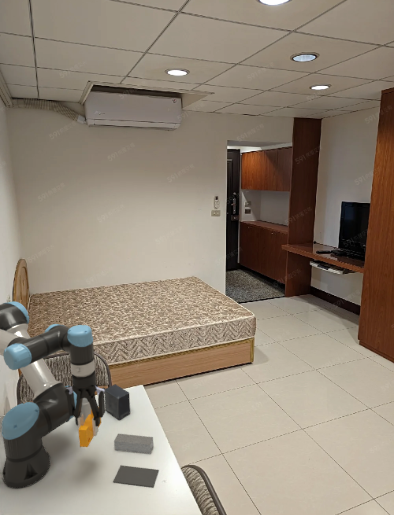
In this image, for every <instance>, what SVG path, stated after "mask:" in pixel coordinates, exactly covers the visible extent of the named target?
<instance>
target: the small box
mask: <svg viewBox="0 0 394 515" xmlns="http://www.w3.org/2000/svg"><path fill="white" fill-rule="evenodd" d="M105 389H106V390H105V393H104V401H105V412H107V414H109V415H111V416H112V417H114V418H115V419H117V421H121V420H122V419H124V418H126V417H127V416H129V415H130V414H131V405H130V404H131V402H130V400H131V399H130V392H129V391H128V390H126V389H124V388H122V387H121V386H119V385H117V384H113V385H111V386H108V387H107V388H106V387H105Z"/></svg>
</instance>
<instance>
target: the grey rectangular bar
mask: <svg viewBox="0 0 394 515" xmlns="http://www.w3.org/2000/svg"><path fill="white" fill-rule="evenodd" d="M113 446H114V447H113V448H114V451H121V452H128V453H129V452H130V453H136V454H137V453H139V454H148V455H151V454H152V451H153V448H154V437H153V436H145V435H144V436H143V435H135V434H127V433H117V435H116V436H115V438H114V441H113Z"/></svg>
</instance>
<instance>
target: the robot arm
mask: <svg viewBox="0 0 394 515" xmlns="http://www.w3.org/2000/svg"><path fill="white" fill-rule="evenodd" d="M29 323H30V316H29V312H28V310H27V308H26V307H25V306H24V305H23V304H22V303H20V302H19V301H9V302H2V303H1V304H0V356H2V357H3V360H4V363H5V365H6V366H7V367H8V369H10V370H12V371H16V370H19V371H21V374H22V375H23V377H24V379H25V380H26V382H27V384H28V386H29V388H30V389H31V391H32V393H33V397H32V401H28V402H27V401H26V402H25V403H23V402H21V403H19V404H17V405H15V406H13V407H11V408H10V410H8V411H7V412H6V413H5V414H4V416H3V419H2V420H1V435H2V440H3V448H4V453H5V460H4V464H3V468H2V480H3V483H4V485H5V486H7V487H8V488H11V489H23V488H27V487H30V486H32V485H34V484H36V483H37V482H39V481H40V480H42V479H43V478H44V477H45V476H46V475H47V474H48V472H49V470H50V467H51V456H50V454H49V453H48V451H47V450H46V447H45V446H44V443H43V438H44V437H46V436H47V435H49V434H50V433H52V432H53V431H54V430H56V429H57V428H59V427H61V426H62V425H64V424H66V423H68V422H70V421H71V419H73V418H75V419H74V421H75V425H76V426H78V429H79V428H80V426H83V425H84V418H83V414H82V413H81V407H82V401H83V398H86V399H87V400H88V402H89V404H90V407H91V410H92V413H93V416H94V417H93V419H92V424H93V436H94V437H96V436H97V434H98V432H100V431H99V430H100V429H99V428H98V426H99V424H100V418H101V419H102V418H103V417H104V415H105V413H106V411H105V394H104V393H105V390H106V387H101V388H100V387H98V386H99V385H98V384H97V376H96V375H97V374H96V363H95V351H94V337H93V331H92V330H93V329H92V328H91V327H90V326H89V325H87V324H83V325H82V324H78V325H73V326H71V327H69V326H66V325H65V324H58V323H53V324H50V325H49V326H48V327H47V328H46V329H45V330H44V332H43V333H40V334H38V335H35V336H32V337H31V336H30V334H29V332H28V329H29ZM60 351H63V352H65V353H68V354H69V362H70V371H71V372H70V373H71V380H72V381H71V382H72V386H71V385H64V383H63V381H60V380H56V377H54V374H53V373H52V371H51V370H50V368H49V367H48V365H47V363H46V361H45V360H44V358H46V357H48V356H51V355H53V354H56V353H58V352H60ZM96 393H97V394H96ZM96 395H97V398H96ZM98 407H99V408H98ZM80 413H81V414H80ZM100 425H101V424H100ZM99 427H100V426H99Z"/></svg>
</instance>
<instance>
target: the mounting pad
mask: <svg viewBox="0 0 394 515" xmlns="http://www.w3.org/2000/svg"><path fill="white" fill-rule="evenodd" d="M159 471H160V469H155V468H147V467H140V466H128V465H122V464H121V465H120V466H119V468H118V470H117V472H116V474H115V475H114V476H115V477H114V479H113V481H112V483H114V484H121V485H128V486H129V485H131V486H137V487H144V488H145V487H146V488H151V489H152V488H153V489H154V487H155V485H156V484H155V483H156V480H157V478H158V474H159Z"/></svg>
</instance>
